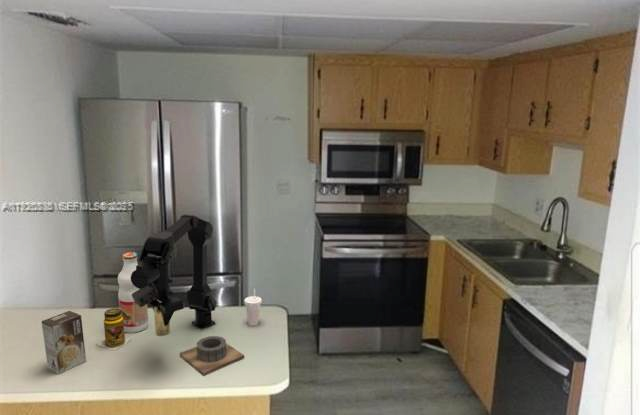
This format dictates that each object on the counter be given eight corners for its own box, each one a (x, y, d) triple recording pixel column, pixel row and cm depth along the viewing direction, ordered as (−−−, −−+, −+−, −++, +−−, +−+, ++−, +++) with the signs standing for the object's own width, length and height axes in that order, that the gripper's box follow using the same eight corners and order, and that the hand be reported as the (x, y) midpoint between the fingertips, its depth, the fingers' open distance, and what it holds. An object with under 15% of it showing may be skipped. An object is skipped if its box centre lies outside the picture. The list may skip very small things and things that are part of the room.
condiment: (116, 350, 158) (113, 317, 156) (95, 345, 161) (92, 313, 158) (131, 339, 165) (128, 307, 162) (111, 335, 168) (108, 304, 165)
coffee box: (75, 355, 155) (70, 309, 151) (86, 361, 151) (82, 314, 148) (46, 368, 147) (41, 320, 143) (58, 375, 144) (52, 326, 140)
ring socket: (179, 355, 156) (178, 342, 155) (219, 340, 166) (218, 327, 165) (203, 375, 145) (203, 361, 144) (244, 358, 156) (244, 344, 154)
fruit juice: (148, 331, 171) (144, 257, 165) (120, 335, 168) (114, 259, 161) (148, 319, 180) (144, 249, 173) (121, 323, 177) (115, 251, 170)
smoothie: (258, 328, 175) (258, 293, 172) (242, 326, 177) (241, 291, 173) (264, 320, 182) (264, 286, 178) (248, 318, 183) (247, 284, 179)
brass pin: (153, 332, 152) (151, 306, 149) (166, 327, 155) (164, 302, 152) (159, 337, 148) (158, 310, 146) (172, 332, 152) (171, 306, 149)
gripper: (121, 274, 148) (124, 320, 152) (148, 292, 135) (151, 342, 139) (155, 266, 156) (158, 310, 159) (184, 282, 143) (186, 330, 146)
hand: (162, 322), depth 151 cm, fingers closed on brass pin, 4 cm apart
